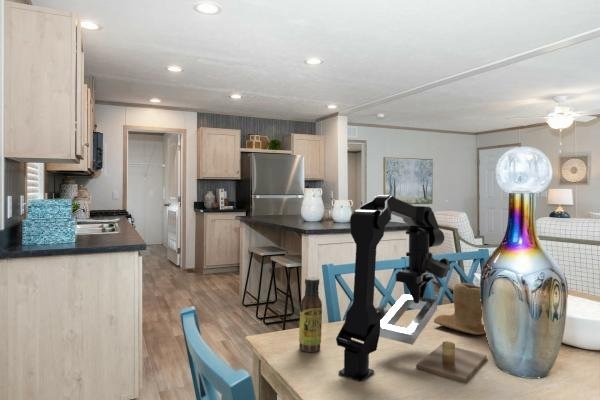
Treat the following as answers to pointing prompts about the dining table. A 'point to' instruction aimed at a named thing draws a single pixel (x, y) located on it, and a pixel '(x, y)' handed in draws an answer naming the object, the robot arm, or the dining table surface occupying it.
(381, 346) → the dining table surface
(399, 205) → the robot arm
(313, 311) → the sauce bottle
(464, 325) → the tan boot
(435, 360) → the plate
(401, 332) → the steel link
